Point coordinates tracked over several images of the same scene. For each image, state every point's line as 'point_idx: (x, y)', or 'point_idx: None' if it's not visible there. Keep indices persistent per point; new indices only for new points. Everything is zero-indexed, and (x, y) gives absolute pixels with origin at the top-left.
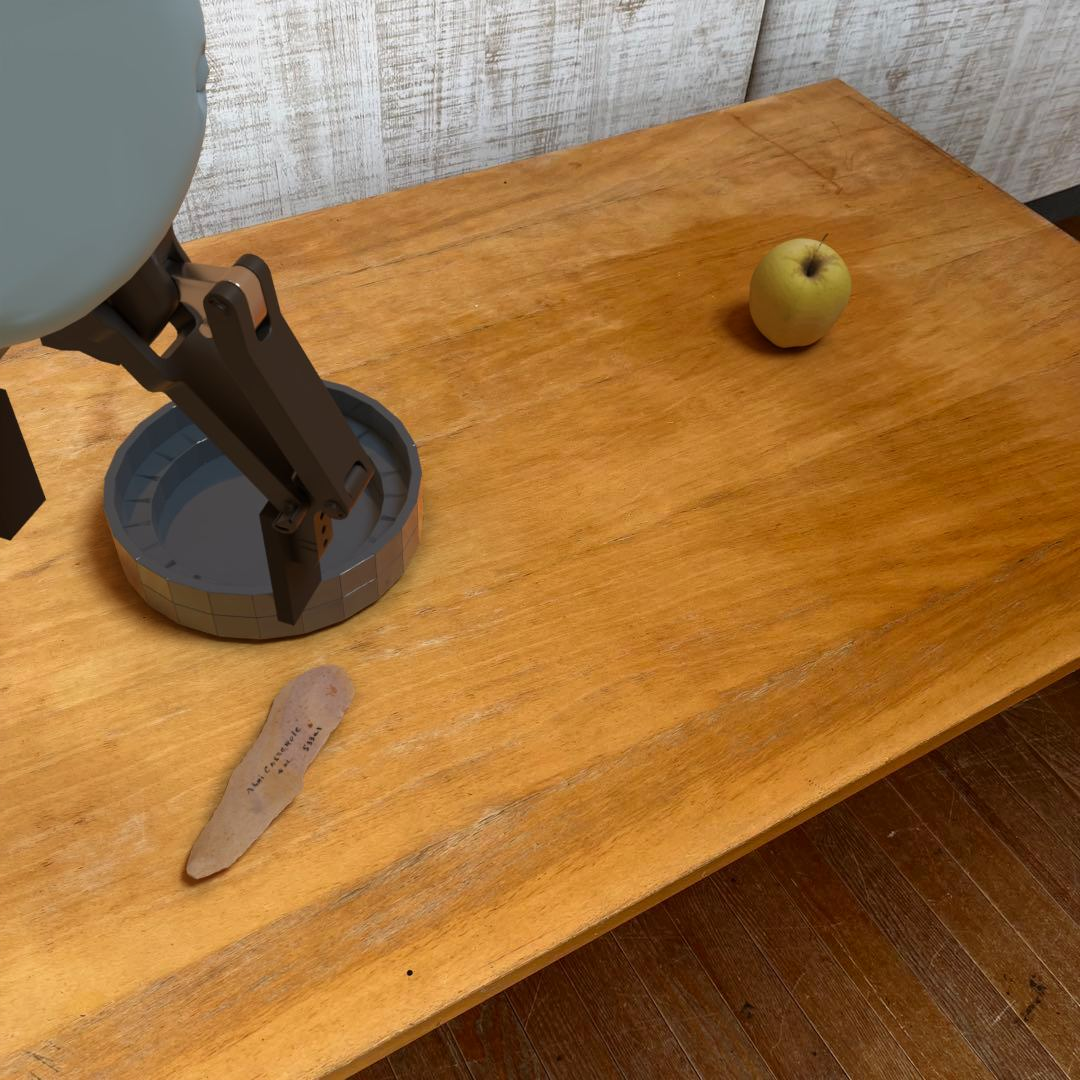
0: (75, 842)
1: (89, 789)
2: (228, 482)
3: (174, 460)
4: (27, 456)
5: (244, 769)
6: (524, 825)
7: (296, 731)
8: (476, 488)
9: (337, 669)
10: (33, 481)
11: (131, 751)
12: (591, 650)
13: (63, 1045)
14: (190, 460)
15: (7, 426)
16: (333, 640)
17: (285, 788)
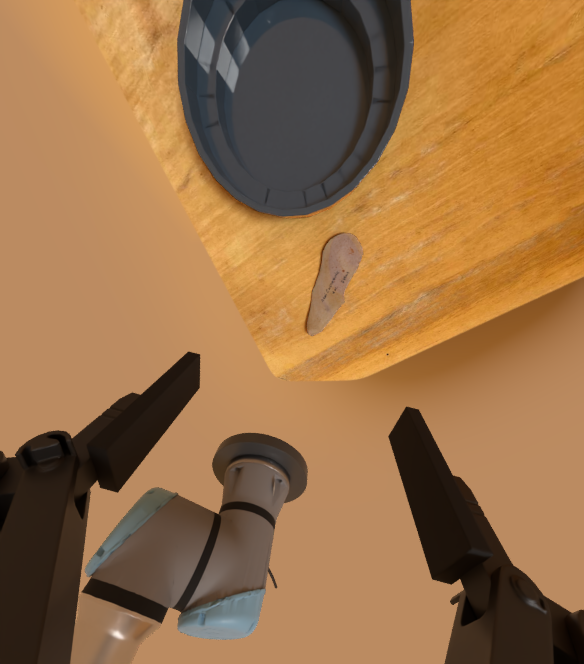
0: (265, 320)
1: (261, 300)
2: (255, 71)
3: (216, 69)
4: (171, 385)
5: (317, 289)
6: (437, 299)
7: (337, 273)
8: (441, 15)
9: (352, 237)
10: (186, 372)
11: (270, 283)
12: (497, 187)
13: (287, 376)
14: (224, 58)
15: (140, 427)
16: (344, 206)
17: (337, 301)
